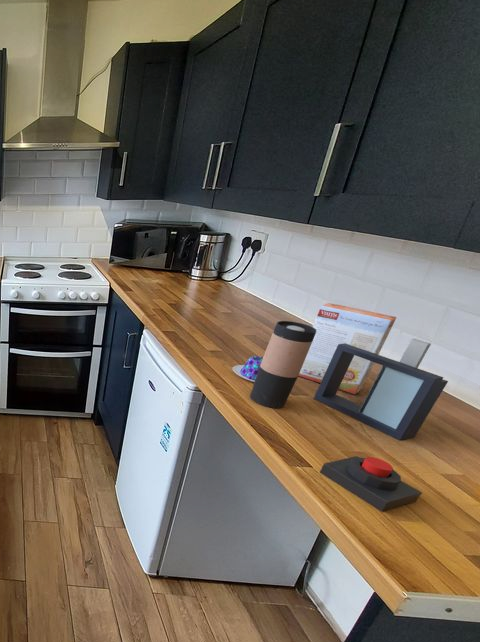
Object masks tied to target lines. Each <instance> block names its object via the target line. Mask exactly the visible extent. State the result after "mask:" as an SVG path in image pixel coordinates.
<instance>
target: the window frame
mask: <svg viewBox="0 0 480 642" xmlns="http://www.w3.org/2000/svg"><path fill="white" fill-rule="evenodd" d="M354 355H355V356H358V357H361V358H364V359H366V360H369V361H372V362H375V363H374V364H376V365H381V368H380V370H379V372H378V374H377V376H376V377H375V379H374V382H373V383H372V386H371V388H370V390H369V391H368V394H367V395H366V396H365V399H364V401H363V403H362V405H361V404H359V403H356V402H355V401H351V400H349V399H347V398H345V397H343V396H340V395H338V394H337V393H338V391H339V389H338V388H339V386H340V384H341V382H342V380H343V378H344V376H345V374H346V372H347V370H348V368H349V365H350V363H351V361H352V359H353V357H354ZM448 383H449V381H448V380H446V379H444V376H441V375H438V374H435V373H432V372H429V371H426V370H423V369H421V368H419V367H418V368H415V367H412V366H409V365H406V364H404V363H401V362H400V361H398V360H394V359H392V358H389V357H386V356H383V355H380V354H379V355H378V354H375V353H372V352H369V351H366V350H363V349H360V348H357V347H354V346H352V345H349V344H346V343H345V344H338V346H337V348H336V350H335V353H334V355H333V357H332V359H331V361H330V363H329V366H328V368H327V370H326V372H325V374H324V377H323V379H322V381H321V383H319V385H318V388H317V390H316V392H315V394H314V396H313V400H316V401H317V402H319V403H322V404H324V405H326V406H327V407H330V408H332V409H334V410H336V411H338V412H341V413H343V414H344V415H347V416H348V417H351V418H353V419H355V420H357V421H359V422H360V423H362V424H364V425H367V426H369V427H371V428H373V429H375V430H377V431H379V432H381V433H383V434H385V435H387V436H390V437H391V438H393V439H396V440H398V441H403V440H407V439H412V438H415V437H416V435H417V434H418V432H419V430H420V429H421V428H422V426H423V424H424V422H425V421H426V419H427V417H428V416H429V414H430V412H432V409H433V407H434V406H435V404H436V402H437V401H438V399H439V398H440V396H441V394H442V392H443V391H444V389H445V387H446V386H447V384H448Z"/></svg>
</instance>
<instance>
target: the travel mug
mask: <svg viewBox="0 0 480 642" xmlns="http://www.w3.org/2000/svg"><path fill="white" fill-rule="evenodd" d="M315 334H316V329H315V328H313V326H311V325H310V324H309V325H308V324H306V323H301V322H297V321H291V320H280V321H277V322H276V324H275V327H274V329H273V332H272V333H271V337H270V338H269V342H268V343H267V347H266V349H265V352H264V355H263V356H262V357H263V359H262V362H261V364H260V367H259V370H258V373H257V376H256V379H255V382H253V385H252V389H251V391H250V395H249V398H250V400H251V401H253V402H254V403H255V404H257V405H260V406H262V407H266V408H270V409H282V408H284V407H285V405H286V403H287V401H288V399H289V397H290V394H291V393H292V390H293V388H294V386H295V384H296V381H297V380H298V378H299V376H298V375H299V373H300V371H301V368H302V366H303V363H304V361H305V358H306V356H307V354H308V351H309V349H310V346H311V344H312V341H313V339H314V337H315Z"/></svg>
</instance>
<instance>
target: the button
mask: <svg viewBox="0 0 480 642" xmlns="http://www.w3.org/2000/svg"><path fill="white" fill-rule="evenodd" d="M364 458H365V460H364V462H363V464H362V465H361V467H362V468H363V469H364V470H366V471H368V472H370V473H371V474H374V475H377V476H379V477H385V478H387V477H389V475H390V473H391V472H392V470H394V467H393V466H392V465H391V464H390V463H389V462H387V461H385V460H383V459H380V458H378V457H374V456H366V457H364Z"/></svg>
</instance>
